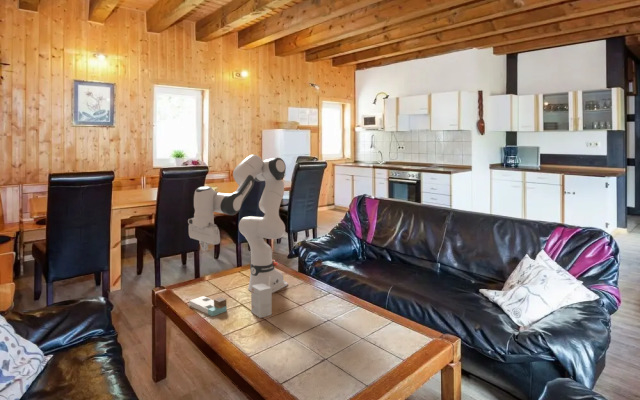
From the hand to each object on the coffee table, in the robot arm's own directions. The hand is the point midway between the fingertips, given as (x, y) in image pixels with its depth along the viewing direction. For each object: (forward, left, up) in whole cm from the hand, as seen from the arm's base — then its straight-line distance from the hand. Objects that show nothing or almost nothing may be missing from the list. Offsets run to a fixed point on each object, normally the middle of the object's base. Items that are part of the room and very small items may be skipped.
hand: (204, 250), depth 194 cm
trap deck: (+1, +4, -27) cm, 27 cm away
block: (0, +11, -25) cm, 27 cm away
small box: (-12, +27, -27) cm, 40 cm away
